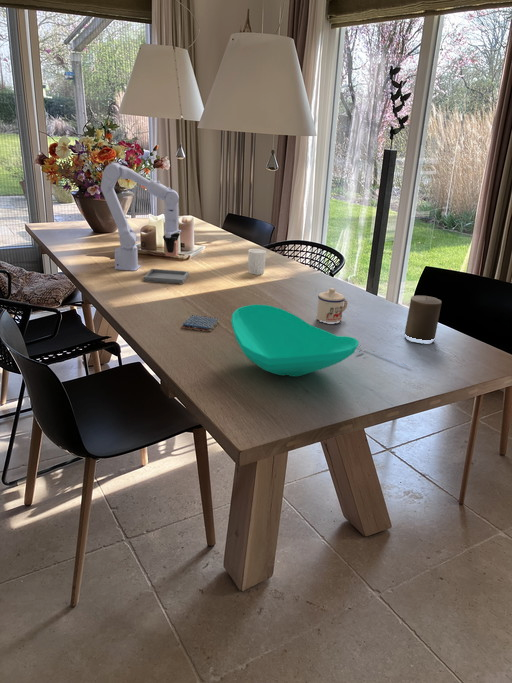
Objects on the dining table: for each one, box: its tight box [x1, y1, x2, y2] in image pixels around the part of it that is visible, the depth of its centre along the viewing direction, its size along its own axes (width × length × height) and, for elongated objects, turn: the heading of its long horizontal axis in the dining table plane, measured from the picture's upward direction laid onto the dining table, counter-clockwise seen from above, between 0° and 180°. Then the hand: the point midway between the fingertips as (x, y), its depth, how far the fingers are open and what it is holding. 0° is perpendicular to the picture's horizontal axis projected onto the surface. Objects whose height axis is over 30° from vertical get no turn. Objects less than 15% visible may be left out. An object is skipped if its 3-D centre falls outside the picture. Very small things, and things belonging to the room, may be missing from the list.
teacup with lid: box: [316, 287, 348, 322], centre depth 193 cm, size 12×9×12 cm
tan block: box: [165, 240, 179, 257], centre depth 241 cm, size 4×4×6 cm
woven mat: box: [181, 314, 220, 333], centre depth 183 cm, size 10×11×2 cm
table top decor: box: [231, 304, 360, 377], centre depth 152 cm, size 40×28×13 cm
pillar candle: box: [404, 295, 442, 340], centre depth 180 cm, size 10×10×15 cm
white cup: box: [247, 248, 267, 276], centre depth 246 cm, size 8×8×10 cm
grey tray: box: [143, 268, 190, 285], centre depth 232 cm, size 16×13×2 cm
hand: (171, 251), depth 242 cm, fingers closed on tan block, 4 cm apart
